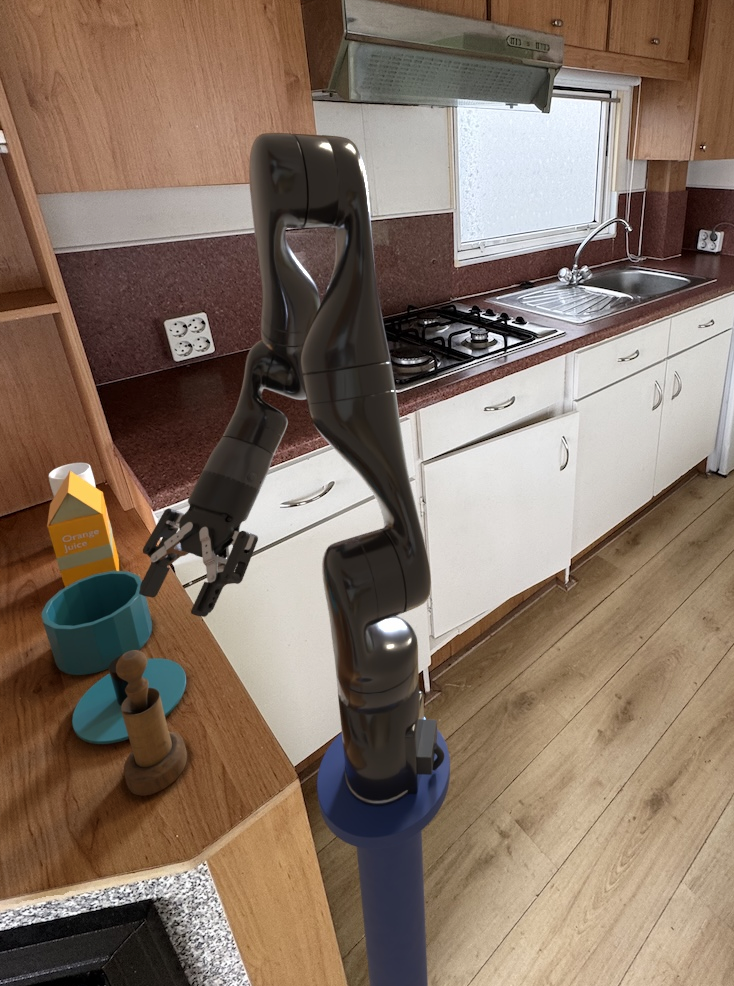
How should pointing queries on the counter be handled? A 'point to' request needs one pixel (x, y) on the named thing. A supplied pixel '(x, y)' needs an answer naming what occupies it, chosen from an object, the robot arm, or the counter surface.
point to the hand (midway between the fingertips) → (171, 605)
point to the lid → (103, 701)
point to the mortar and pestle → (147, 732)
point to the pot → (96, 621)
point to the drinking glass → (61, 472)
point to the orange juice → (81, 531)
